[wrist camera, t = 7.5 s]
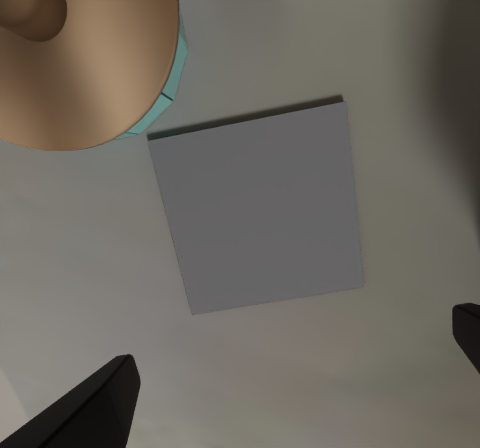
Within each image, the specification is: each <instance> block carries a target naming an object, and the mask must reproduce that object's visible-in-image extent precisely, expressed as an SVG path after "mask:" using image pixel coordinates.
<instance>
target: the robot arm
mask: <svg viewBox="0 0 480 448" xmlns="http://www.w3.org/2000/svg"><path fill="white" fill-rule="evenodd" d="M452 328H453V336H454V338H455V340H456V342H457V343H458V345H459V346H460V347H461V349H462V350H463V352H464V353H465V354H466V356H467V357H468V358H469V360H470V361H471V363H472V364H473V365H474V367H475V368H476V369H477V371H478V372H479V374H480V305H477V304H473V303H464V304H458V305H455V306H454V307H453V309H452ZM139 389H140V376H139V373H138V369H137V366H136V363H135V360H134V357H133V356H132V355H130V354H127V355H120V356H116V357H115V358H114V359H112V360H111V361H110V362H108V363H107V364H106V365H104V366H103V367H102V368H100V369H99V370H97V371H96V372H95V373H93V374H92V375H91V376H89V377H88V378H87V379H85V380H84V381H83V382H81V383H80V384H79V385H77V386H76V387H75V388H73V389H72V390H71V391H69V392H68V393H67V394H65V395H64V396H62V397H61V398H60V399H58V400H57V401H56V402H54V403H53V404H52V405H50V406H49V407H48V408H46V409H45V410H44V411H42V412H41V413H40V414H38V415H37V416H36V417H34V418H33V419H32V420H30V421H29V422H28V423H26V424H25V425H23V426H22V427H21V428H19V429H18V430H17V431H16V432H14V433H13V434H11V435H10V436H9V437H7V438H6V439H5V440H3V441H2V442H1V443H0V448H126V444H127V441H128V437H129V433H130V429H131V424H132V420H133V416H134V411H135V407H136V403H137V398H138V394H139Z"/></svg>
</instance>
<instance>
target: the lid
mask: <svg viewBox="0 0 480 448" xmlns="http://www.w3.org/2000/svg"><path fill="white" fill-rule="evenodd" d="M179 27H180V17H179V0H0V138H1V139H3V140H5V141H8V142H10V143H13V144H16V145H20V146H24V147H27V148H32V149H39V150H47V151H72V150H80V149H87V148H91V147H95V146H98V145H102V144H104V143H106V142H109V141H111V140H113V139H116V138H117V137H119V136H120V135H122V134H124V133H125V132H127V131H129V130H130V129H131V128H132V127H133V126H135V125H136V124H137V123H138V122H139V121H140V120H141V119H142V118H143V117H144V116H145V115H146V114H147V113H148V112H149V110H150V109H151V108H152V107H153V105H154V104H155V102H156V101H157V99H158V98H159V96H160V95H161V93H162V91H163V89H164V87H165V85H166V83H167V81H168V79H169V76H170V73H171V70H172V67H173V64H174V61H175V56H176V51H177V46H178V39H179Z"/></svg>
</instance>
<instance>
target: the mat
mask: <svg viewBox="0 0 480 448" xmlns="http://www.w3.org/2000/svg"><path fill="white" fill-rule="evenodd" d="M148 144H149V148H150V152H151V156H152V160H153V163H154V167H155V171H156V175H157V179H158V183H159V187H160V191H161V195H162V199H163V203H164V207H165V211H166V215H167V218H168V222H169V226H170V230H171V234H172V238H173V242H174V246H175V250H176V254H177V258H178V262H179V266H180V270H181V273H182V277H183V281H184V285H185V289H186V293H187V297H188V301H189V305H190V309H191V313H192V315H195V314H201V313H208V312H214V311H220V310H226V309H232V308H238V307H245V306H251V305H257V304H263V303H269V302H275V301H282V300H288V299H294V298H300V297H306V296H313V295H319V294H325V293H331V292H337V291H343V290H350V289H356V288H362V287H364V280H363V269H362V259H361V249H360V238H359V228H358V217H357V207H356V197H355V186H354V176H353V165H352V155H351V145H350V134H349V124H348V113H347V103H346V101H345V102H340V103H335V104H330V105H325V106H320V107H315V108H310V109H305V110H300V111H295V112H290V113H285V114H280V115H275V116H270V117H265V118H260V119H255V120H250V121H245V122H240V123H235V124H230V125H225V126H220V127H215V128H210V129H205V130H200V131H195V132H190V133H185V134H180V135H175V136H170V137H165V138H160V139H155V140H150V141H148Z"/></svg>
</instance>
